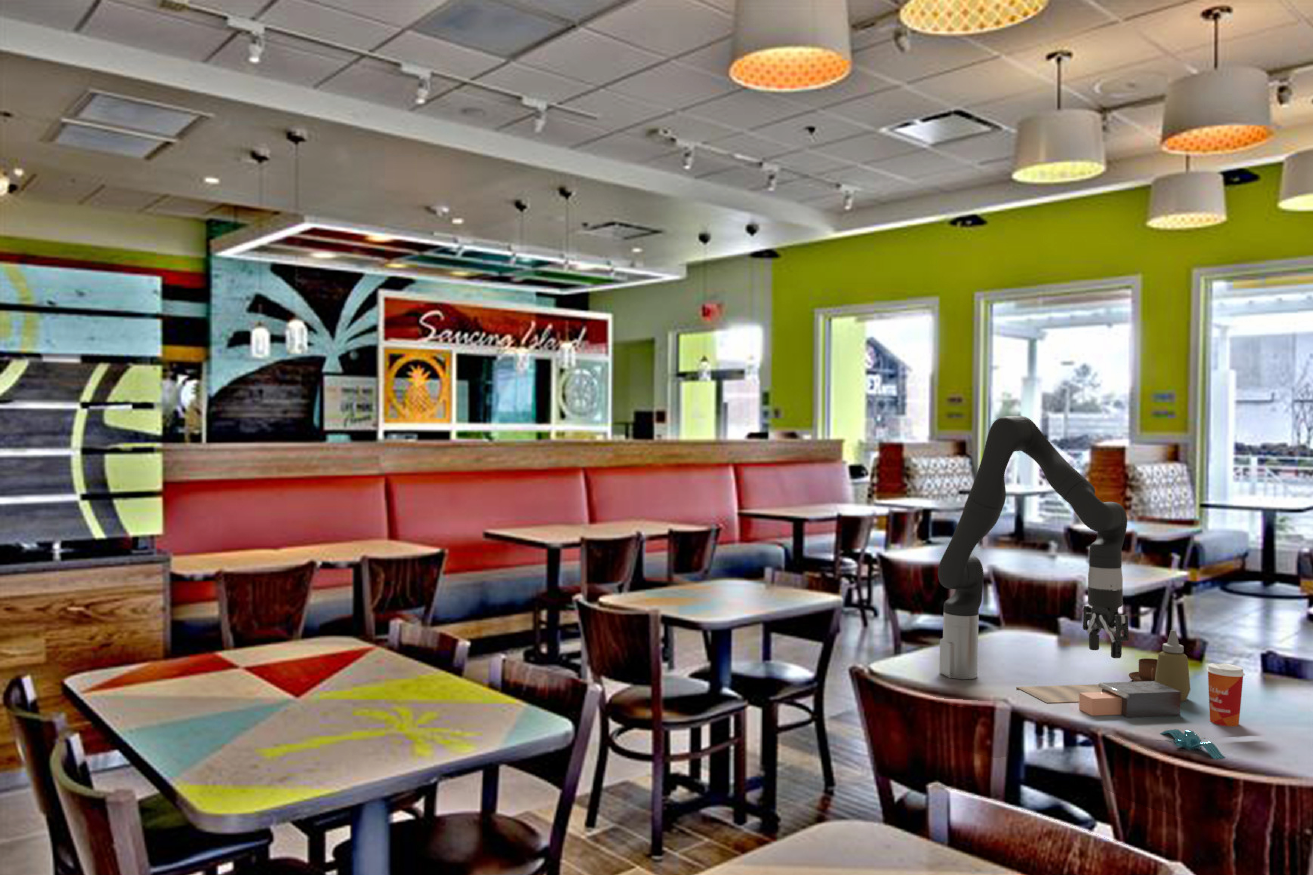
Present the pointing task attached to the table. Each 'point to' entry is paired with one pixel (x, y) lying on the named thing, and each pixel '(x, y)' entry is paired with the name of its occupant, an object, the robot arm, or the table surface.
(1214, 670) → the paper cup
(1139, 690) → the dispenser
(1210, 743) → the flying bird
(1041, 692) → the board
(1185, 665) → the squeeze bottle
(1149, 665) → the cup and saucer
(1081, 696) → the block
